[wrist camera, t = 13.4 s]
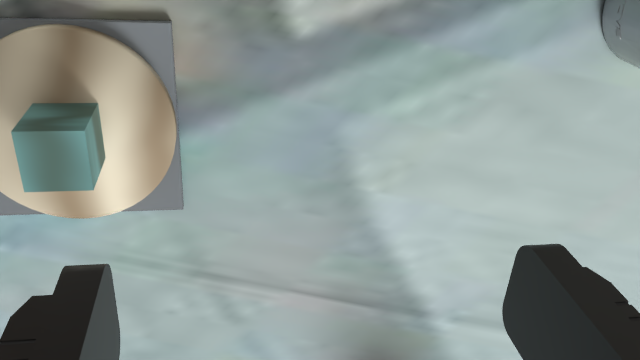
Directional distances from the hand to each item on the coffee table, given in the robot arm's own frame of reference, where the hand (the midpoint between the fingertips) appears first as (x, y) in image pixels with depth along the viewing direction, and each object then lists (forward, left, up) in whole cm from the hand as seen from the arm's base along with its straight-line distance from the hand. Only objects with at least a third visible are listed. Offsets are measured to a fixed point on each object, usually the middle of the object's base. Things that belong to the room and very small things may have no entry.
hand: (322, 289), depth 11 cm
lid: (+12, +9, -30) cm, 33 cm away
